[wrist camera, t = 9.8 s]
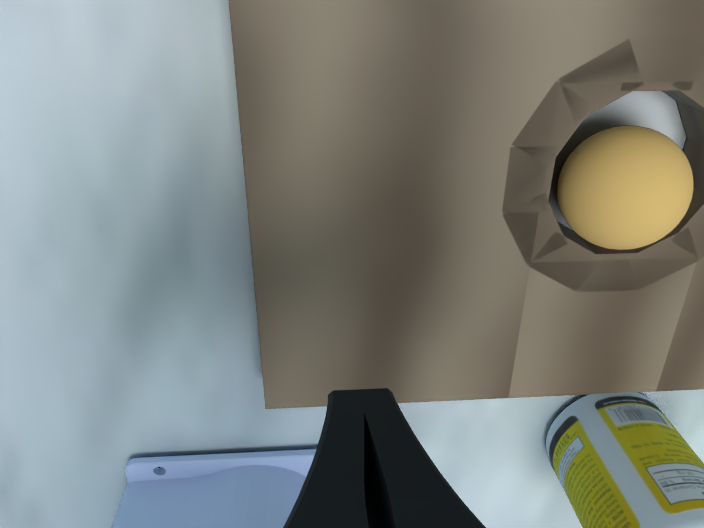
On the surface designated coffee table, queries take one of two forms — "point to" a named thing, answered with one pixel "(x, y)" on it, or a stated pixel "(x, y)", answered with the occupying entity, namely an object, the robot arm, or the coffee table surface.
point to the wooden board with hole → (458, 198)
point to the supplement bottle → (625, 464)
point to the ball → (625, 187)
